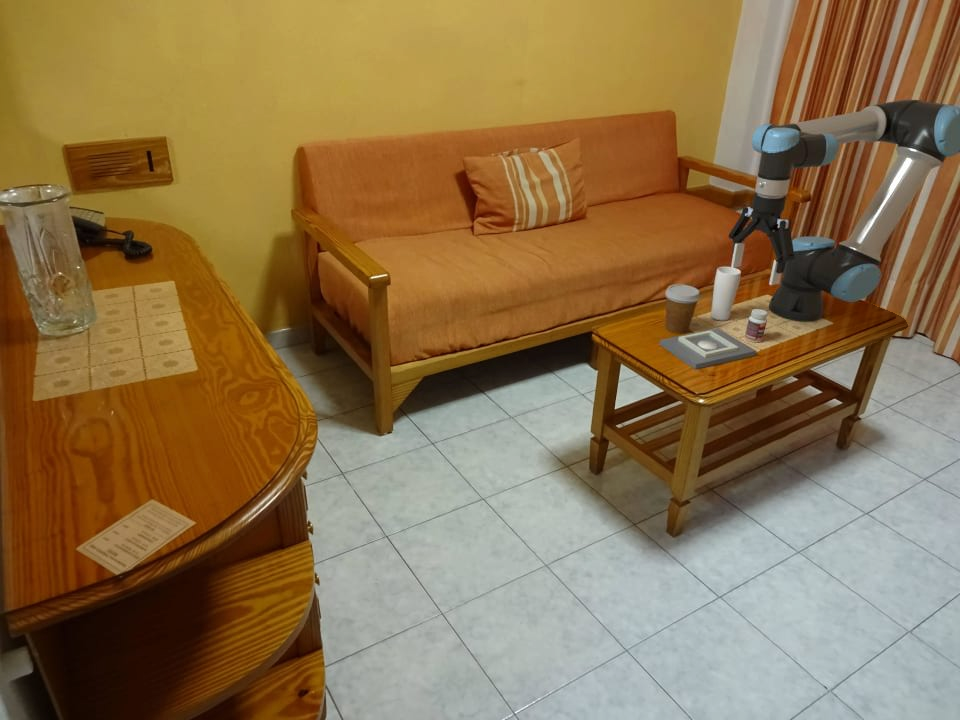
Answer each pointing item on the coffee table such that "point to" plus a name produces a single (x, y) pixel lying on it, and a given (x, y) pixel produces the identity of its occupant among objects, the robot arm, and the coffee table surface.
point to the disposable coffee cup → (680, 307)
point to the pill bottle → (756, 326)
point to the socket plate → (707, 348)
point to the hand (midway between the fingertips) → (754, 275)
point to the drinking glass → (724, 292)
